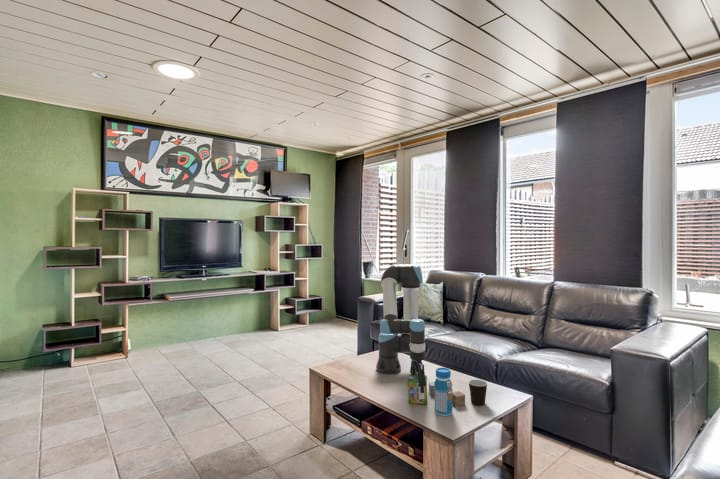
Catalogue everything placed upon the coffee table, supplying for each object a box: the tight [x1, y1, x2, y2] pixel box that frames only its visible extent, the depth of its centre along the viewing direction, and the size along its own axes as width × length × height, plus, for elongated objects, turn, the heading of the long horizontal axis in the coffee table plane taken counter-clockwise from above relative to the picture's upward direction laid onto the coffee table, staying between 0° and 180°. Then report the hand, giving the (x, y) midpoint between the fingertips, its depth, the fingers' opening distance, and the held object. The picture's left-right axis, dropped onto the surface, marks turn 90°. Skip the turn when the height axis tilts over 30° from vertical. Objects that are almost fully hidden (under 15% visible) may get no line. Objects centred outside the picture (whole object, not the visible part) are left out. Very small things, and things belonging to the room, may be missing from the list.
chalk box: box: [407, 370, 428, 405], centre depth 193 cm, size 9×9×15 cm
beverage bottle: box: [434, 367, 454, 417], centre depth 180 cm, size 8×8×20 cm
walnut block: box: [452, 390, 466, 408], centre depth 189 cm, size 5×5×5 cm
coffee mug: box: [468, 379, 488, 407], centre depth 191 cm, size 12×9×10 cm
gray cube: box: [428, 381, 435, 396], centre depth 202 cm, size 5×5×5 cm
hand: (417, 393), depth 193 cm, fingers open, 12 cm apart
